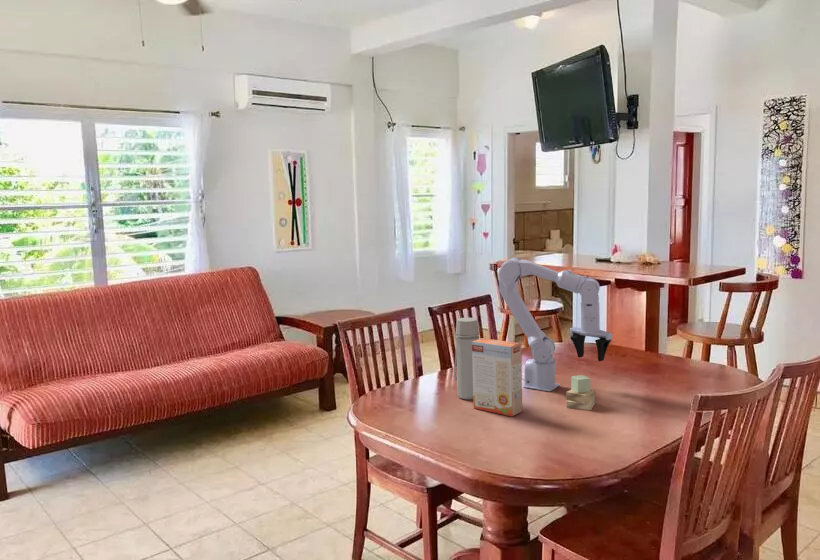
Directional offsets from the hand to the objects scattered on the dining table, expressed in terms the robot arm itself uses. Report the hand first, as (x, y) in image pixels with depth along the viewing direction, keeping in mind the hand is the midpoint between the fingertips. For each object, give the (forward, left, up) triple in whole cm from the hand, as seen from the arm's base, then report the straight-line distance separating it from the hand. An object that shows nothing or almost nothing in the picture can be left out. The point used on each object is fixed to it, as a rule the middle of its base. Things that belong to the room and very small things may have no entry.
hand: (590, 358), depth 214 cm
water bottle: (-31, -25, -11) cm, 42 cm away
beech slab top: (+3, -16, -9) cm, 18 cm away
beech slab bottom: (+3, -16, -11) cm, 19 cm away
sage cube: (+3, -15, -6) cm, 16 cm away
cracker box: (-16, -32, -11) cm, 38 cm away
